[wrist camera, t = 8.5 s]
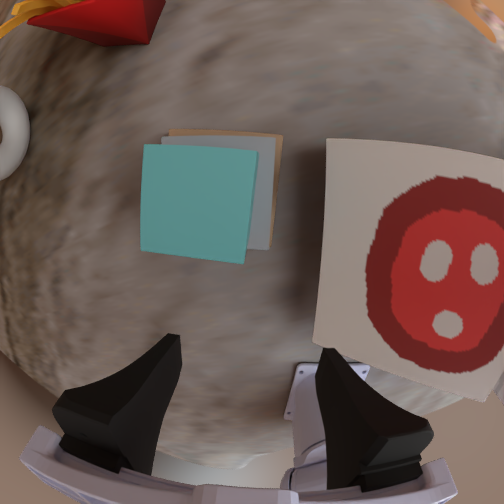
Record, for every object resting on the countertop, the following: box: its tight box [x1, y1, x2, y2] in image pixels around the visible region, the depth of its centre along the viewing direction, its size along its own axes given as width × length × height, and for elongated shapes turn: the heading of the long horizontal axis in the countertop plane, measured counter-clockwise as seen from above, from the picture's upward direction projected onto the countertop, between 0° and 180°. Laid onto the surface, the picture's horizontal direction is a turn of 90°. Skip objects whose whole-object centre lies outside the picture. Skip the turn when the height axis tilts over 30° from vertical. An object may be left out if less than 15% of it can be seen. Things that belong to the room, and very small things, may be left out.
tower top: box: [161, 135, 276, 250], centre depth 18 cm, size 7×7×2 cm
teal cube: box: [140, 144, 259, 264], centre depth 14 cm, size 5×5×5 cm
